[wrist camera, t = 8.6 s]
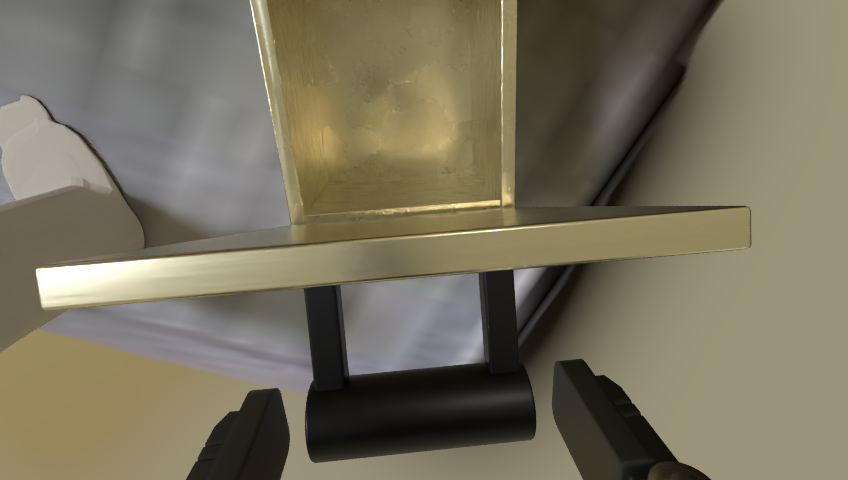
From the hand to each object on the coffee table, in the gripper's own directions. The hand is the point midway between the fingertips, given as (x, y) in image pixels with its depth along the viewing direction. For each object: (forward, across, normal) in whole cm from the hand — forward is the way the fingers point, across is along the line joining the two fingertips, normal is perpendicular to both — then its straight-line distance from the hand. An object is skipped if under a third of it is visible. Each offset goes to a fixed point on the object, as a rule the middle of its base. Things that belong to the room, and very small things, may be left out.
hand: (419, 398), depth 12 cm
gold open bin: (+22, 0, -9) cm, 24 cm away
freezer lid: (+5, 0, -4) cm, 6 cm away
